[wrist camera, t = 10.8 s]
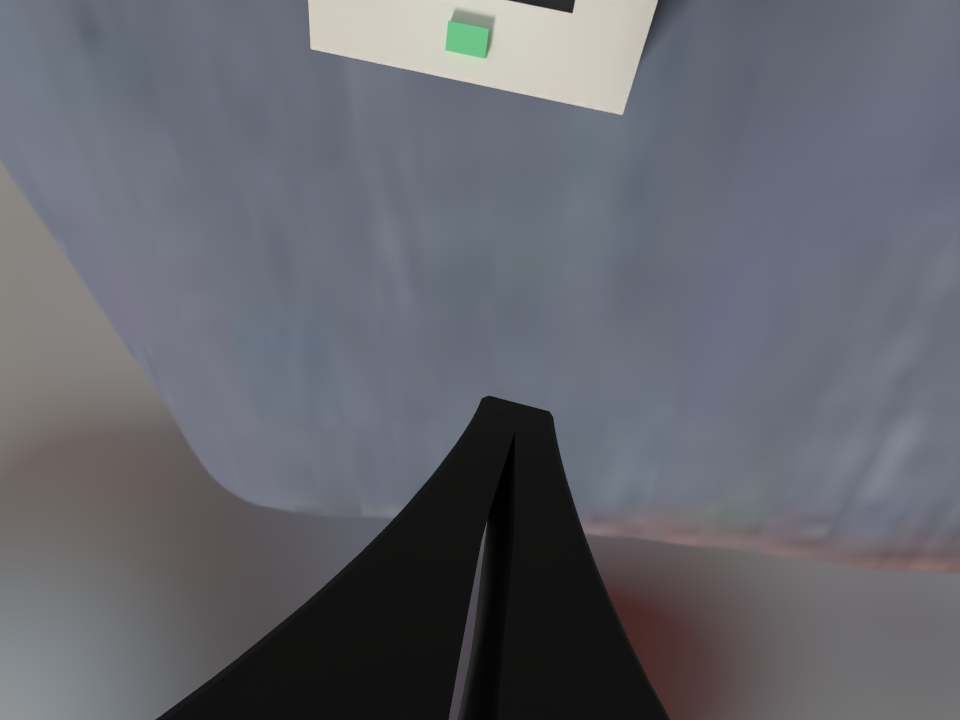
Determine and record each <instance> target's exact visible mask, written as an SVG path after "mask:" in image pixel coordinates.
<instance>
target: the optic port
mask: <svg viewBox="0 0 960 720" xmlns="http://www.w3.org/2000/svg"><path fill="white" fill-rule="evenodd" d="M657 2H658V0H308V3H309V23H310V43H311V49H313V50H318V51H323V52H327V53H332V54H337V55H341V56H346V57H351V58H356V59H360V60H365V61H370V62H374V63H379V64H384V65H389V66H393V67H398V68H403V69H407V70H412V71H417V72H422V73H426V74H431V75H436V76H440V77H445V78H450V79H455V80H459V81H464V82H469V83H473V84H478V85H483V86H488V87H492V88H497V89H502V90H506V91H511V92H516V93H521V94H525V95H530V96H535V97H539V98H544V99H549V100H554V101H558V102H563V103H568V104H573V105H577V106H582V107H587V108H591V109H596V110H601V111H606V112H610V113H615V114H620V115H623V112H624V108H625V105H626V102H627V99H628V96H629V92H630V89H631V86H632V83H633V79H634V76H635V73H636V70H637V67H638V63H639V60H640V57H641V54H642V51H643V47H644V44H645V41H646V38H647V34H648V31H649V28H650V25H651V22H652V18H653V15H654V12H655V9H656V5H657Z"/></svg>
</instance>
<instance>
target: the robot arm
mask: <svg viewBox="0 0 960 720" xmlns="http://www.w3.org/2000/svg"><path fill="white" fill-rule="evenodd" d="M487 519H488V520H487ZM486 522H487V528H486V536H485V545H484V553H483V561H482V570H481V578H480V587H479V596H478V604H477V612H476V620H475V629H474V636H473V643H472V649H471V656H470V662H469V666H468V671H467V676H466V682H465V686H464V691H463V696H462V701H461V706H460V711H459V716H458V720H670V719H669V717H668V715H667V713H666V711H665V709H664V707H663V705H662V704H661V702H660V700H659V698H658V696H657V694H656V692H655V691H654V689H653V687H652V685H651V683H650V682H649V680H648V678H647V676H646V674H645V672H644V670H643V668H642V666H641V664H640V662H639V660H638V658H637V656H636V654H635V651H634V649H633V647H632V646H631V644H630V641H629V639H628V637H627V635H626V633H625V631H624V629H623V627H622V625H621V622H620V620H619V618H618V616H617V613H616V611H615V609H614V607H613V604H612V602H611V600H610V598H609V595H608V593H607V591H606V588H605V586H604V584H603V581H602V579H601V576H600V574H599V571H598V569H597V567H596V564H595V561H594V559H593V556H592V554H591V551H590V548H589V545H588V543H587V540H586V538H585V535H584V532H583V529H582V526H581V523H580V520H579V518H578V514H577V511H576V508H575V505H574V502H573V498H572V495H571V492H570V489H569V486H568V482H567V479H566V475H565V472H564V468H563V464H562V460H561V456H560V452H559V447H558V443H557V438H556V433H555V427H554V420H553V416H552V415H551V413H550V412H549V411H546V410H542V409H538V408H534V407H530V406H526V405H522V404H519V403H515V402H511V401H507V400H503V399H499V398H496V397H492V396H487V397H484V398H482V399H481V402H480V404H479V407H478V409H477V411H476V413H475V415H474V417H473V418H472V420H471V422H470V423H469V425H468V427H467V428H466V430H465V431H464V433H463V434H462V436H461V437H460V439H459V440H458V442H457V443H456V445H455V446H454V447H453V449H452V450H451V451H450V453H449V454H448V455H447V457H446V458H445V459H444V461H443V462H442V463H441V465H440V466H439V467H438V469H437V470H436V471H435V472H434V474H433V475H432V476H431V477H430V479H429V480H428V481H427V482H426V483H425V484H424V485H423V487H422V488H421V489H420V490H419V491H418V492H417V494H416V495H415V496H414V497H413V498H412V499H411V501H410V502H409V503H408V504H407V505H406V506H405V507H404V509H403V510H402V511H401V512H400V513H399V514H398V515H397V516H396V517H395V518H394V519H393V521H391V523H390V524H389V525H388V526H387V527H386V528H385V529H384V530H383V531H382V532H381V533H380V534H379V535H378V536H377V537H376V538H375V539H374V540H373V541H372V542H371V543H370V544H369V545H368V546H367V547H366V548H365V549H364V550H363V551H362V552H361V553H360V554H359V555H358V556H357V557H356V558H354V559H353V560H352V561H351V562H350V563H349V564H348V565H347V566H346V567H345V568H344V569H343V570H341V571H340V572H339V573H338V574H337V575H336V576H335V577H334V578H333V579H332V580H331V581H330V582H328V583H327V584H326V585H325V586H324V587H323V588H322V589H321V590H320V591H318V592H317V593H316V594H315V595H314V596H313V597H312V598H310V599H309V600H308V601H307V602H306V603H305V604H304V605H302V606H301V607H300V608H299V609H298V610H296V611H295V612H294V613H293V614H292V615H290V616H289V617H288V618H287V619H285V620H284V621H283V622H282V623H280V624H279V625H278V626H277V627H276V628H274V629H273V630H272V631H271V632H269V633H268V634H267V635H266V636H264V637H263V638H262V639H261V640H260V641H258V642H257V643H256V644H255V645H253V646H252V647H251V648H250V649H249V650H247V651H246V652H245V653H244V654H242V655H241V656H240V657H239V658H238V659H236V660H235V661H234V662H233V663H231V664H230V665H229V666H227V667H226V668H225V669H223V670H222V671H221V672H219V673H218V674H217V675H216V676H214V677H213V678H212V679H210V680H209V681H208V682H206V683H205V684H203V685H202V686H201V687H200V688H198V689H197V690H195V691H194V692H193V693H191V694H190V695H189V696H187V697H186V698H185V699H183V700H182V701H181V702H179V703H178V704H177V705H175V706H174V707H172V708H171V709H170V710H168V711H167V712H166V713H164V714H163V715H162V716H160V717H159V718H157V719H156V720H448V719H449V714H450V707H451V702H452V697H453V691H454V686H455V680H456V674H457V669H458V663H459V658H460V652H461V647H462V642H463V636H464V631H465V625H466V620H467V614H468V609H469V604H470V598H471V593H472V587H473V583H474V577H475V571H476V567H477V561H478V556H479V551H480V545H481V541H482V537H483V533H484V530H485V526H486Z"/></svg>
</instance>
